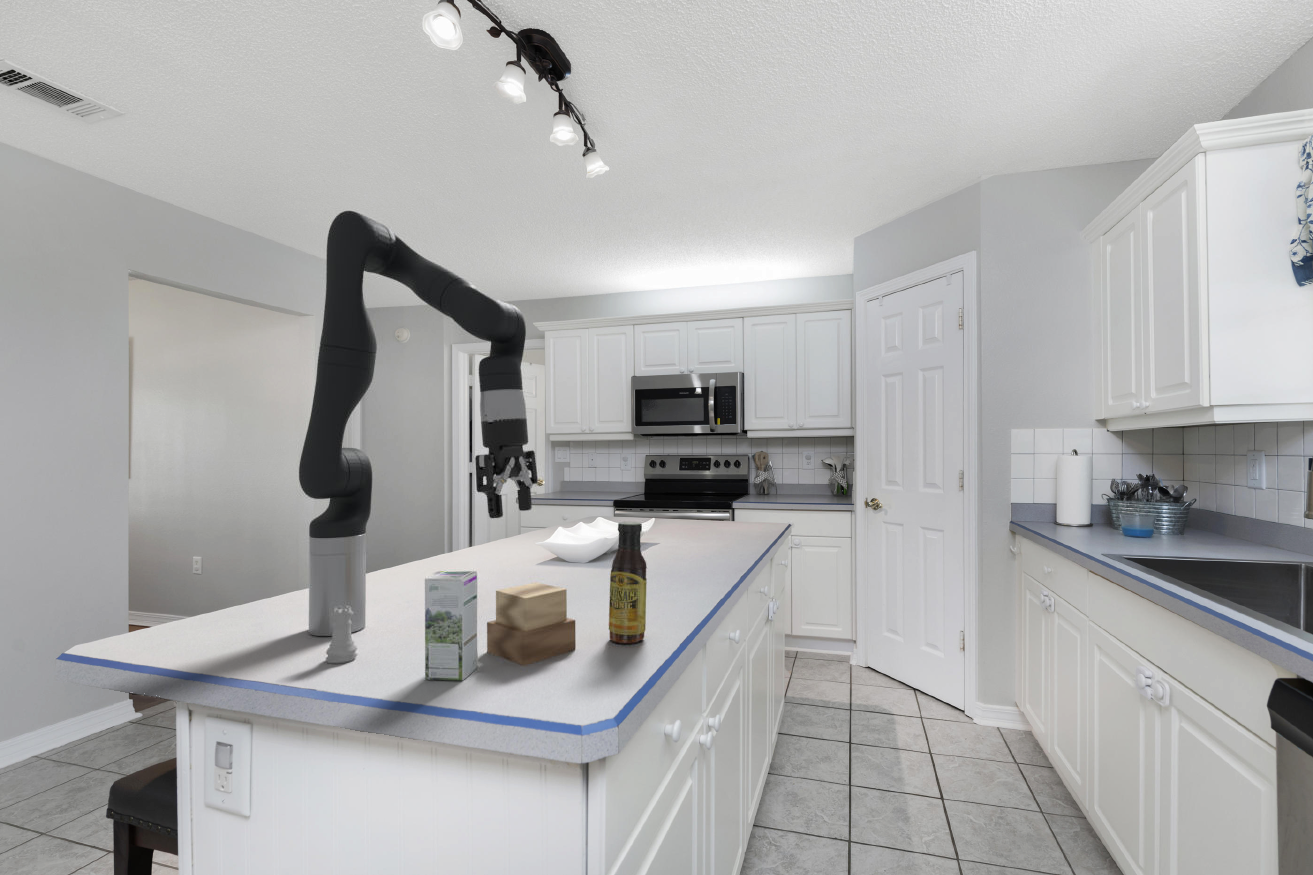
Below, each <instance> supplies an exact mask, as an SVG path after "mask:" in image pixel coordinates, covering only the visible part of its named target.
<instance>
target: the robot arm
mask: <svg viewBox="0 0 1313 875" xmlns="http://www.w3.org/2000/svg"><path fill="white" fill-rule="evenodd" d="M325 264H326V270H325V271H326V276H325V277H326V278H325V279H326V281H325V285H326V286H325V298H324V299H325V300H324V309H323V321H322V322H323V323H322V328H321V329H322V331H321V336H320V341H319V346H318V347H319V348H318V359H317V366H316V378H315V386H314V392H313V397H312V405H311V412H310V417H309V421H308V426H307V430H306V434H305V439H304V442H303V447H302V451H301V454H300V460H299V465H298V480H299V485H300V487H301V490H302V491H303V493H304V494H305V495H306V496H307V497H309V498H311V499H314V500H327V499H329V502H328V506H327V508H326V509H325V511H323V513H321V514H319V515H318V516H317V517H315V518H314V519H312V520H311V521H310V523H309V525H308V526H309V528H308V529H309V530H308V539H309V540H308V541H309V543H308V546H309V547H308V548H309V552H308V553H309V554H308V555H309V556H308V559H309V562H308V563H309V564H308V565H309V567H308V571H309V572H308V635H311V636H315V637H332V636H333V626H332V624H333V619H332V617H331V616H330V615H331V614H332V612H333V609H334V608H335V607H336V608H337V610H338V607H340V606H342V609H345V606H348V607H351V610H352V612H353V615H352V616H351V618H350V621H351V622H352V623H351V633H354V632H357V631H360V630H362V629H365V627H366V614H367V613H366V609H367V608H366V607H367V605H366V603H367V602H366V601H367V599H366V596H367V593H366V592H367V590H366V589H367V582H366V581H367V580H366V579H367V577H366V576H367V568H366V567H367V551H366V550H367V546H366V545H367V544H366V543H367V537H366V536H367V524H368V522H369V519H370V516H371V510H372V494H373V492H372V491H373V469H372V463H371V460H370V459H369V457H368V455H367V454H366V453H365V452H364V451H363V450H361V449H358V448H354V447H343V442H344V437H345V436H344V435H345V430H346V427H347V425H348V421H349V418H350V417H351V415H352V413H353V412H354V410H355V408H356V407H357V406H358V405H359V403H360V402H361V401H362V399H363V398H364V396H365V394H366V393H367V391H368V390H369V388H370V386H371V384H372V382H373V379H374V373H375V366H376V358H377V352H378V350H377V346H378V345H377V339H376V334H375V331H374V328H373V325H372V322H371V319H370V315H369V313H368V309H367V308H366V303H365V299H364V293H363V291H364V290H363V289H364V287H363V283H364V272H366V273H370V274H371V273H372V274H377V275H379V276H382V277H385V278H388V279H391V280H394V281H396V282H398V283H400V284H402V285H404V286H406V288H409V290H411V291H412V292H413V293H414V294H415V295H416V296H417V297H418V298H419V299H420V300H421V301H423V302H424V303H426V304H427V305H428V306H430V307H432V308H433V309H435V310H437V311H438V312H439V313H441V314H443V315H445V316H446V317H449V319H452V320H453V321H454V322H455V323H456V324H458V325H457V326H459V327H460V328H462V329H463V330H464V331H466V332H467V333H469V334H470V335H471V336H473V337H476V339H479V340H482V341H486V342H490V349H489V356H486V357H484V358H482V359H481V360H480V361H479V363H478V378H479V379H478V380H479V392H480V394H479V412H480V424H481V425H480V426H481V440H482V446H483V447H484V448H486V449H488V453H485V454H477V455H475V481H476V482H475V483H476V484H475V485H476V488H475V489H476V492H477V493H483V494H484V495H485V496H486V500H487V512H488V517H489V518H490V519H501V518H503V515H504V512H503V499H502V494H501V492H502V490H503V486H504V484H506V483H507V481H508V479H509V480H511V481H513V482H514V484H515V486H516V487H517V490H516V492H517V504H518V510H519V511H523V512H525V511H531V510H532V509H533V508H532V491H531V489H532V488H533V485H536V484H538V483H539V482H538V481H539V480H538V472H537V461H536V453H535V450H533V449H532V450H524V447H523V446H526V445H527V444H528V443H529V432H528V431H529V430H528V423H527V422H528V419H527V408H526V407H527V406H526V400H525V395H524V391H523V390H524V389H523V375H522V369H521V367H522V361H523V356H524V350H525V342H526V337H527V336H526V334H527V333H526V332H527V327H526V321H525V318H524V315H523V313H522V311H521V310H520V309H519V308H518V307H517V306H515V305H513V304H511V303H508V302H504V301H502V300H498V299H496V298H494V297H491V296H489V295H487V294H485V293H483V292H481V291H479V290H478V288H477V287H476V286H475V285H474V284H473V283H471V282H470V281H469V280H467V279H465V278H463V277H462V276H460V275H458V274H457V273H454V272H453V271H451V270H449V269H448V268H445V267H444V266H442V265H440V264H438V263H436V262H433V261H431V260H430V259H429V260H428V259H427V258H426V257H424V256H423V255H421V254H420V253H418V252H417V251H416V250H414V249H413V248H411V247H410V246H409V245H408V244H407V243H406V242H405V241H404V240H402V239H401V238H400V237H399V236H398V235H397V234H396V233H395V232H393V231H392V230H391V229H390V228H389V227H388V226H386V225H384V224H382V223H380V222H379V221H375V220H374V219H372V218H369V217H368V216H366V215H363V214H362V213H360V212H357V211H353V210H345V211H342V212H340V213H338V214H337V215H336V216H335V217H334V219H333V220H332V221H331V225H330V227H329V229H328V234H327V241H326V263H325ZM530 474H531V476H530ZM484 478H485V480H486V483H485V484H484Z"/></svg>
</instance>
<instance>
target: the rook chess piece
mask: <svg viewBox="0 0 1313 875" xmlns="http://www.w3.org/2000/svg"><path fill="white" fill-rule="evenodd" d="M352 615H353V612H352V610H351V607H348V606H345V609H342V606H340V607H338V610H337V608H336V607H335V608H334V609H333V612H332V614H331V615H330V616H331V617H332V619H333V624H332V626H333V636H331V641H330V644H329V647H328V648H327V650H326V651H325V654H326V655H327V656H326V658H325V660H326V662H328V663H329V664H332V665H338V664H346V663H349V662H352V661H355V659H356V658H357V656H358V653H357V650H358V647H357V645H356V644H355V641H354V639H353V637H352V632H351V623H352V622H351V621H350V618H351V616H352Z"/></svg>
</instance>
